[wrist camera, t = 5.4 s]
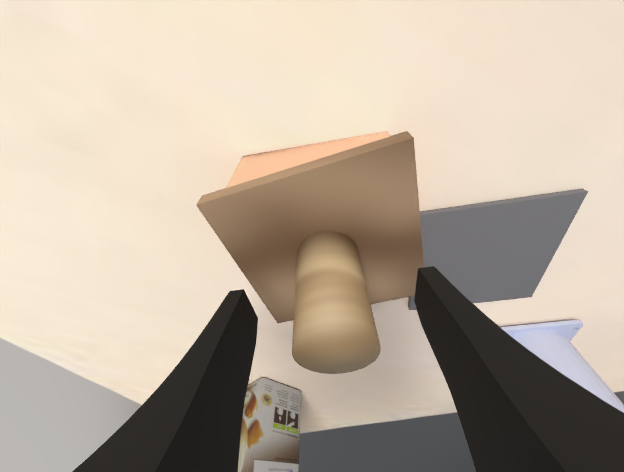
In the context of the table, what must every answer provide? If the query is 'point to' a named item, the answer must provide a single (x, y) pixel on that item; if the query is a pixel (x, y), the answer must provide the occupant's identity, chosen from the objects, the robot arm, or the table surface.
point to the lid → (328, 246)
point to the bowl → (294, 157)
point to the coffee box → (270, 428)
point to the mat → (497, 243)
